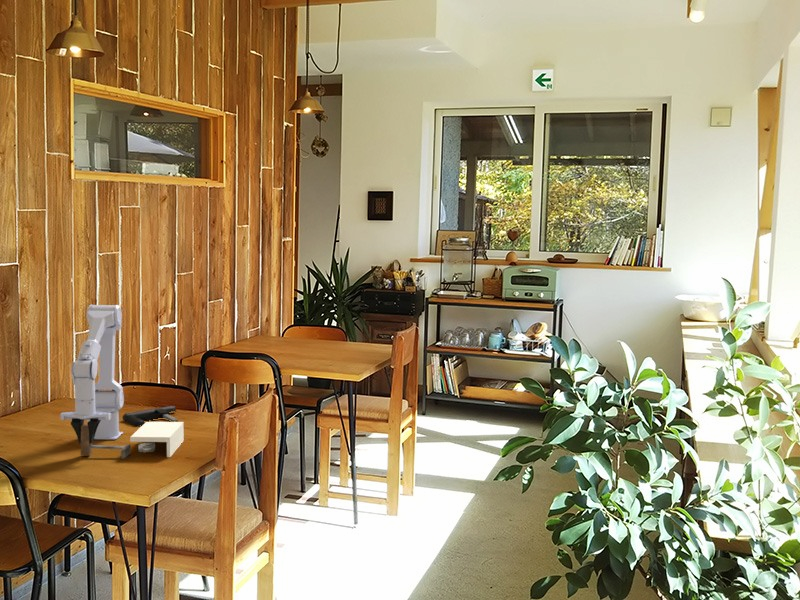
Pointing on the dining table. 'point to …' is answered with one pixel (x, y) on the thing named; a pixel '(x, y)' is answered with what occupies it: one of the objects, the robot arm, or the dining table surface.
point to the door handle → (149, 415)
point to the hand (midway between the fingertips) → (86, 442)
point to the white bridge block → (161, 434)
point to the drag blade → (87, 448)
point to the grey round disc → (146, 447)
